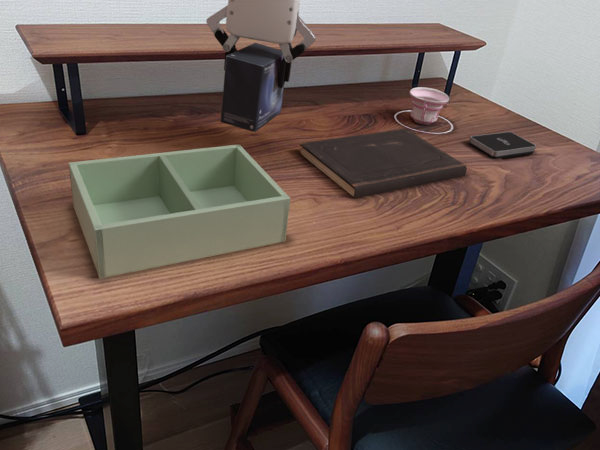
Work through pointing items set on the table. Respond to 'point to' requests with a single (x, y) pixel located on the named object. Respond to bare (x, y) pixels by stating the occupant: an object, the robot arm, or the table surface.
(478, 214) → the table surface
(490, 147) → the external hard drive
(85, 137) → the table surface
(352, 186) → the hardcover book
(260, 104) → the small box
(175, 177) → the caddy
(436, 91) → the teacup
